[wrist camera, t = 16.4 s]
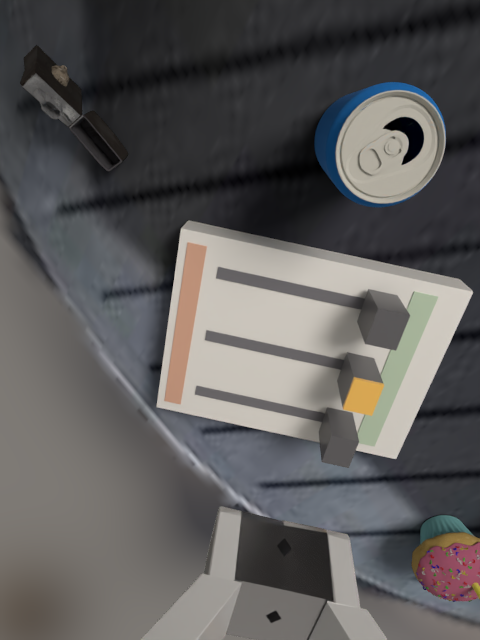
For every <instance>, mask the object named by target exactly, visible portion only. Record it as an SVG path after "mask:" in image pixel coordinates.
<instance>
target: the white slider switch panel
mask: <svg viewBox="0 0 480 640" xmlns="http://www.w3.org/2000/svg"><path fill="white" fill-rule="evenodd" d="M368 289H371V290H375V291H380V292H385V293H389V294H394V295H398V297H399V299H400V300H401V302H402V303H403V305H404V306H405V308H406V310H407V311H408V313H409V314H410V318H409V320H408V323H407V325H406V328H405V330H404V332H403V335H402V337H401V340H400V342H399V345H398V347H397V350H396V351H395V350H390V349H386V348H381V347H376V346H372V345H367V344H365V343H364V340H363V337H362V334H361V331H360V329H359V326H358V323H357V320H358V317H359V315H360V312H361V309H362V306H363V303H364V300H365V297H366V294H367V292H368ZM472 294H473V291H472V290H471V289H470V288H469V287H468V286H466V285H465V284H464V283H463V282H462V281H461V280H460V279H456V278H451V277H447V276H442V275H438V274H433V273H428V272H424V271H419V270H415V269H410V268H405V267H401V266H396V265H392V264H387V263H382V262H378V261H373V260H369V259H364V258H359V257H355V256H350V255H346V254H341V253H336V252H332V251H327V250H323V249H318V248H314V247H309V246H304V245H300V244H295V243H291V242H286V241H281V240H277V239H272V238H268V237H263V236H258V235H254V234H249V233H245V232H240V231H235V230H231V229H226V228H222V227H217V226H212V225H208V224H203V223H199V222H194V221H189V220H188V221H187V222H186V223H185V225H184V226H183V227H182V228H181V232H180V240H179V247H178V254H177V261H176V269H175V276H174V283H173V290H172V298H171V305H170V312H169V319H168V327H167V334H166V341H165V349H164V356H163V363H162V370H161V378H160V385H159V392H158V399H157V407H158V408H163V409H168V410H172V411H177V412H181V413H186V414H191V415H195V416H200V417H204V418H209V419H214V420H218V421H223V422H227V423H232V424H237V425H241V426H246V427H250V428H255V429H260V430H264V431H269V432H273V433H278V434H283V435H287V436H292V437H296V438H301V439H306V440H310V441H315V442H319V443H320V441H319V429H320V426H321V424H322V421H323V418H324V415H325V412H326V409H327V407H329V408H333V409H338V410H342V411H347V410H343V408H342V403H341V398H340V393H339V388H338V383H337V379H338V377H339V374H340V371H341V368H342V365H343V362H344V359H345V357H346V354H347V352H348V353H353V354H357V355H362V356H367V357H371V358H374V359H375V362H376V365H377V367H378V370H379V373H380V375H381V378H382V381H383V383H384V388H383V390H382V393H381V395H380V397H379V400H378V402H377V405H376V407H375V410H374V412H373V415H372V416H370V415H365V414H361V413H356V412H352V413H353V417H354V421H355V426H356V430H357V434H358V438H359V443H358V446H357V448H356V451H361V452H365V453H370V454H375V455H379V456H384V457H388V458H393V459H396V458H397V456H398V453H399V451H400V449H401V447H402V445H403V443H404V441H405V438H406V436H407V434H408V432H409V430H410V428H411V425H412V423H413V421H414V419H415V417H416V415H417V412H418V410H419V408H420V406H421V404H422V402H423V399H424V397H425V395H426V393H427V391H428V389H429V387H430V384H431V382H432V380H433V378H434V376H435V374H436V371H437V369H438V367H439V365H440V363H441V361H442V358H443V356H444V354H445V352H446V350H447V348H448V346H449V343H450V341H451V339H452V337H453V335H454V333H455V330H456V328H457V326H458V324H459V322H460V320H461V317H462V315H463V313H464V311H465V309H466V307H467V304H468V302H469V300H470V298H471V296H472ZM347 412H351V411H347Z"/></svg>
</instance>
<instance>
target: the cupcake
mask: <svg viewBox="0 0 480 640" xmlns="http://www.w3.org/2000/svg"><path fill="white" fill-rule="evenodd" d="M412 569H413V571H414V574H415V576H416V578H417V579H418V581H419V582H420V583H421V584H422V586H423V589H424V588H425V589H424V590H428V591H429V592H431V593H432V594H433V595H435V596H436V597H437V596H438V598H439V597H440V598H439V599H442V598H443V599H447V600H449V601H453V602H454V601H469V602H470V601H472V600H473V599H476V598H479V599H480V538H477V537H475V536H474V535H473V534H472V533H471V532H470V531H469V530H468V529H467V528H466V527H465V525H464V524H463V523H462V522H461V521H460V520H459V519H457V518H455V517H453V516H448V515H439V516H434V517H432V518H430V519H428V520H427V521H425V522H424V523H423V525H422V527H421V530H420V545H419V546H418V547H417V548H416V549H415V550H414V551H413V554H412Z"/></svg>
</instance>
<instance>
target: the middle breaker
mask: <svg viewBox="0 0 480 640" xmlns="http://www.w3.org/2000/svg"><path fill="white" fill-rule="evenodd" d="M337 383H338V388H339V393H340V398H341V403H342V408H343V410H347V411H351V412H356V413H361V414H365V415H370V416H372V415H373V412H374V410H375V407H376V405H377V402H378V400H379V397H380V395H381V393H382V390H383V388H384V383H383V381H382V378H381V375H380V373H379V370H378V367H377V365H376V362H375V359H374V358H371V357H367V356H362V355H357V354H353V353H348V352H347V354H346V357H345V359H344V362H343V365H342V368H341V371H340V374H339V377H338V379H337Z"/></svg>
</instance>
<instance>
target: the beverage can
mask: <svg viewBox="0 0 480 640" xmlns="http://www.w3.org/2000/svg"><path fill="white" fill-rule="evenodd" d="M314 144H315V153H316V156H317V160H318V162H319V164H320V166H321V167H322V169H323V170H324V171H325V173H326V174H327V175H328V177H329V178H330V179H331V181H332V182H333V183H334V185H335V186H336V187H337V188H338V190H339V191H340V192H341V193H342V194H343V195H344V196H346V197H347V198H348V199H350V200H352V201H353V202H356V203H358V204H361V205H364V206H369V207H387V206H392V205H396V204H399V203H401V202H404V201H406V200H408V199H410V198H411V197H413V196H414V195H416V194H417V193H418V192H419V191H421V190H422V189H423V188H424V187H425V186H426V185H427V184H428V183H429V181H430V180H431V179H432V177H433V176H434V175H435V173H436V171H437V169H438V167H439V165H440V163H441V161H442V158H443V154H444V150H445V144H446V130H445V124H444V120H443V117H442V114H441V112H440V110H439V108H438V106H437V105H436V103H435V102H434V101H433V100H432V98H431V97H429V96H428V95H427V94H426V93H425V92H423V91H422V90H421V89H419V88H417V87H415V86H412V85H409V84H406V83H399V82H387V83H381V84H377V85H374V86H371V87H368V88H365V89H362V90H359V91H357V92H354V93H351V94H348V95H346V96H344V97H342V98H340V99H338V100H337V101H335V102H334V103H333V104H332V105H331V106H330V107H329V108H328V109H327V110H326V111H325V113H324V114H323V116H322V117H321V119H320V121H319V123H318V126H317V129H316V133H315V141H314Z"/></svg>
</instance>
